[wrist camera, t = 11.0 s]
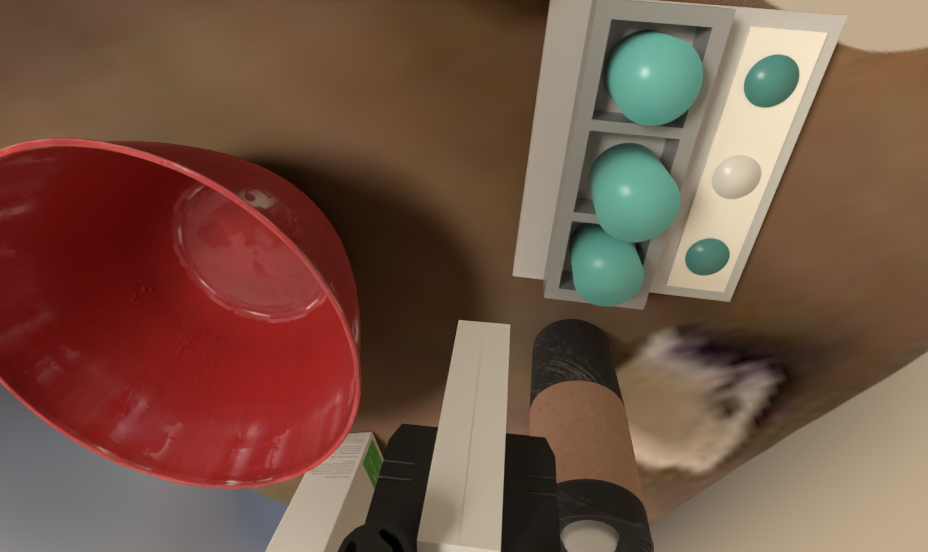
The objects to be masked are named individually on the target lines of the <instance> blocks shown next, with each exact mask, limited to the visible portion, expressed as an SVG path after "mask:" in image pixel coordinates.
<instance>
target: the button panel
mask: <svg viewBox="0 0 928 552" xmlns="http://www.w3.org/2000/svg"><path fill="white" fill-rule="evenodd" d="M847 17H848V16H847V15H836V14H824V13H811V12H799V11H786V10H774V9H761V8H748V7H736V6H723V5H710V4H697V3H685V2H672V1H659V0H549V7H548V14H547V21H546V29H545V36H544V43H543V51H542V58H541V66H540V73H539V80H538V88H537V95H536V102H535V110H534V117H533V124H532V132H531V139H530V146H529V154H528V161H527V168H526V176H525V183H524V191H523V198H522V205H521V213H520V220H519V227H518V235H517V242H516V249H515V257H514V264H513V276H517V277H525V278H534V279H542V280H543V283H544V298H550V299H558V300H566V301H575V302H583V303H589V302H587V301H585V300H584V299H583V298H582V297H581V296H580V295H579V294H578V292H577V291H576V289H575V286H574V280H573V273H572V265H571V258H570V251H569V244H570V240H571V237H572V235H573V234H574V232H575V231H576V230H577V229H578V228H579V227H580V226H581V225H582V224H584V223H594V224H600V223H599V221H598V218H597V215H596V211H595V208H594V204H593V201H592V197H591V193H590V190H589V185H588V177H589V172H590V169H591V166H592V164H593V163H594V161H595V160H596V158H597V157H598V156H599V155H600V154H601V153H603V152H604V151H605V150H607V149H608V148H610V147H612V146H615V145H617V144H622V143H637V144H640V145H643V146H645V147H647V148H649V149H650V150H651V151H652V152H654V154H655V155H656V156H657V158H658V159H659V160H660V162H661V163H662V164H663V166H664V167H665V169H666V170H667V171H668V173H669V174H670V175H671V177H672V178H673V180H674V181H675V183H676V184H677V186H678V188H679V191H680V197H681V202H680V208H679V212H678V214H677V216H676V218H675V220H674V221H673V223H672V224H671V225H670V226H669V228H668V229H666V230H665V231H664V232H663V233H661V234H660V235H658V236H656V237H655V238H652V239H650V240H646V241H642V242H633V243H634V246H635V248H636V251H637V253H638V256H639V259H640V261H641V264H642V266H643V270H644V280H643V284H642V286H641V288H640V290H639V291H638V292H637V294H636V295H635V296H634V297H632V298H631V299H630V300H628V301H626V302H624V303H622V304H619V305H616V307H624V308H632V309H640V310H644V307H645V304H646V301H647V297H648V294H649V292H651V293H659V294H668V295H676V296H685V297H693V298H701V299H710V300H718V301H727V302H730V300H731V298H732V295H733V293H734V291H735V288H736V286H737V283H738V281H739V279H740V276H741V274H742V271H743V269H744V266H745V264H746V262H747V259H748V257H749V254H750V252H751V249H752V247H753V245H754V242H755V240H756V237H757V235H758V233H759V230H760V228H761V225H762V223H763V220H764V218H765V216H766V213H767V211H768V208H769V206H770V204H771V201H772V199H773V196H774V194H775V191H776V189H777V187H778V184H779V182H780V179H781V177H782V174H783V172H784V170H785V167H786V165H787V162H788V160H789V158H790V155H791V153H792V150H793V148H794V145H795V143H796V141H797V138H798V136H799V133H800V131H801V128H802V126H803V124H804V121H805V119H806V116H807V114H808V112H809V109H810V107H811V104H812V102H813V99H814V97H815V95H816V92H817V90H818V87H819V85H820V82H821V80H822V78H823V75H824V73H825V70H826V68H827V66H828V63H829V61H830V58H831V56H832V53H833V51H834V49H835V46H836V44H837V41H838V39H839V37H840V34H841V31H842V29H843V27H844V24H845V22H846V19H847ZM640 30H656V31H659V32H662V33H665V34H668V35H671V36H673V37H676V38H679V39H682V40H684V41H686V42H687V43H688V44H690V45H691V46H692V47H693V48H694V49H695V50H696V52H697V53H698V55H699V57H700V59H701V62H702V67H703V80H702V85H701V89H700V91H699V94H698V96H697V98H696V99H695V101H694V102H693V104H692V105H691V106H690V108H689V109H688V110H687V111H686V112H685V113H683V114H682V115H681V116H680V117H678V118H676V119H675V120H673V121H671V122H668V123H666V124H662V125H657V126H645V125H640V124H637V123H635V122H633V121H631V120H630V119H628V118H627V117H626V116H625V115H624V114H623V113H622V112H621V110H620V109H619V108H618V106H617V105H616V103H615V102H614V100H613V99H612V98H611V96H610V95H609V93H608V91H607V89H606V87H605V83H604V67H605V63H606V60H607V58H608V56H609V54H610V52H611V50H612V49H613V48H614V46H615V45H616V44H617V43H618V42H619V41H620V40H621V39H623V38H624V37H626V36H627V35H629V34H631V33H633V32H636V31H640Z"/></svg>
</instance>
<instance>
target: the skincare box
mask: <svg viewBox="0 0 928 552" xmlns="http://www.w3.org/2000/svg"><path fill="white" fill-rule="evenodd" d="M383 459H384V458H383V456H382V454H381V451H380V449H379V446H378V444H377V442H376V439H375V437H374V434H373V432H358V433H349V434H348V435H347V437H346V438H345V440H344V441H343V442H342V444H341V445H340V446H339V447H338V448H337V450H336V451H335V452H334V453H333V454H332V455H331V456H329V457H328V458H327V459H326V460H325V461H324V462H322V463H321V464H320V465H318V466H317V467H315V468H313V469H312V470H310V471H308V472H306V473H305V475H304V477H303V479H302V481H301V483H300V485H299V487H298V489H297V491H296V493H295V495H294V497H293V498H292V500H291V502H290V504H289V506H288V508H287V510H286V512H285V514H284V516H283V518H282V520H281V522H280V524H279V526H278V528H277V530H276V532H275V534H274V536H273V538H272V540H271V542H270V543H269V545H268V547H267V549H266V551H265V552H337V551H338V549H339V547H340V545H341V544H342V542H343V540H344V538H345V537H346V536H347V535H349V534H350V533H351V532H352V531H353V530H354V529H355V528H357V527H359V526H361V525H364V524H365V521H366V517H367V514H368V510H369V507H370V503H371V500H372V496H373V493H374V490H375V486H376V483H377V479H378V478H379V472H380V469H381V465H382V463H383Z"/></svg>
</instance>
